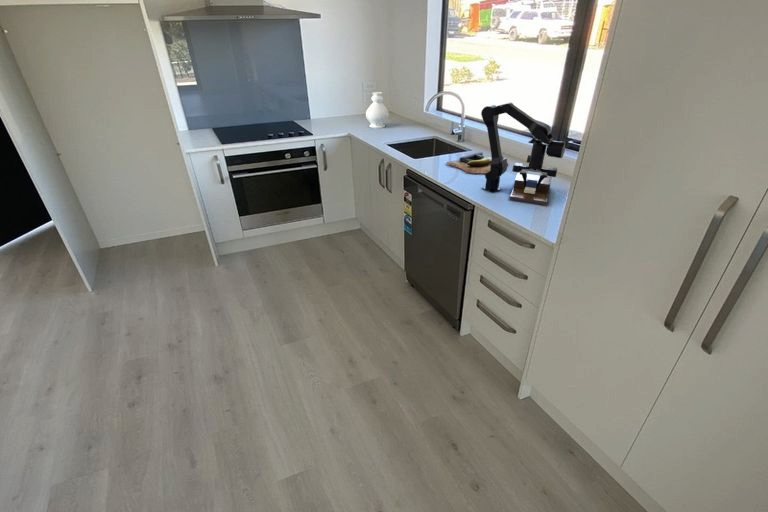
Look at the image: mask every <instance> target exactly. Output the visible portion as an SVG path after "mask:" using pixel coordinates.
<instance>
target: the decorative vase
mask: <svg viewBox="0 0 768 512" xmlns="http://www.w3.org/2000/svg"><path fill="white" fill-rule="evenodd" d="M370 98H371V101H372V103H371V104H370V105H369V106H368V107H367V108H366V111H365V117H366V119H367V121H368V122H369V123H370V124H369V128H371V129H383V128H385V127H386V125H385V122H386V121H387V120H388V119H389V116H390V115H389V110H388V108H387V107H386V106H385V104H384V103H383V100H384V97H383V92H381V91H375V92H374V91H373V92H372V96H371V97H370Z"/></svg>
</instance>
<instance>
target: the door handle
mask: <svg viewBox="0 0 768 512" xmlns="http://www.w3.org/2000/svg"><path fill="white" fill-rule="evenodd" d="M484 157H485V156H484V153H483V152H482V151H477V152H475V153H471V154H468V155H464V156H460V157H459V158H458V160H459V161H460V162H464V163H468V162H470V161H474V160H481V159H485V158H484ZM489 163H491V160H490V162H489Z"/></svg>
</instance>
